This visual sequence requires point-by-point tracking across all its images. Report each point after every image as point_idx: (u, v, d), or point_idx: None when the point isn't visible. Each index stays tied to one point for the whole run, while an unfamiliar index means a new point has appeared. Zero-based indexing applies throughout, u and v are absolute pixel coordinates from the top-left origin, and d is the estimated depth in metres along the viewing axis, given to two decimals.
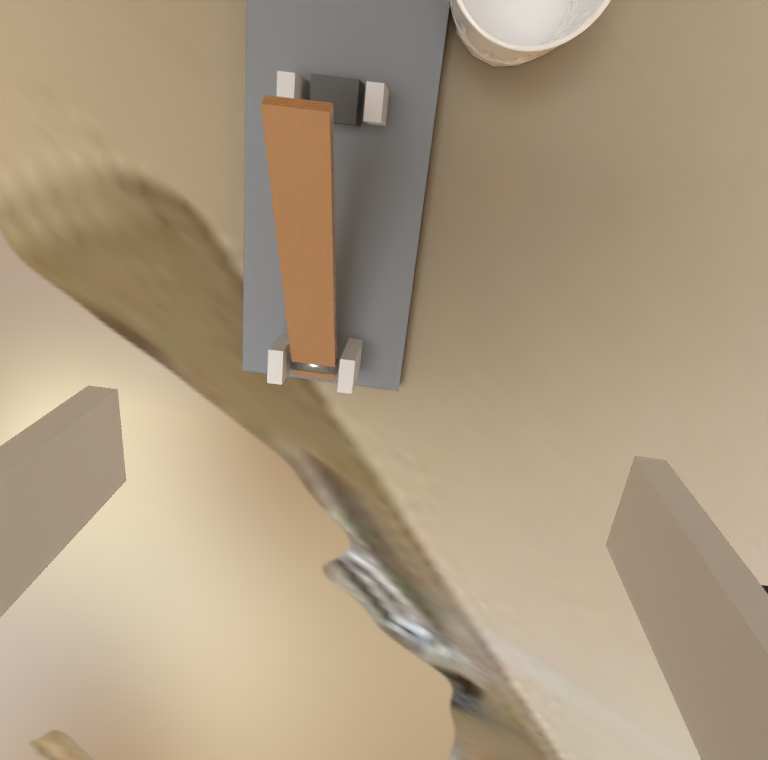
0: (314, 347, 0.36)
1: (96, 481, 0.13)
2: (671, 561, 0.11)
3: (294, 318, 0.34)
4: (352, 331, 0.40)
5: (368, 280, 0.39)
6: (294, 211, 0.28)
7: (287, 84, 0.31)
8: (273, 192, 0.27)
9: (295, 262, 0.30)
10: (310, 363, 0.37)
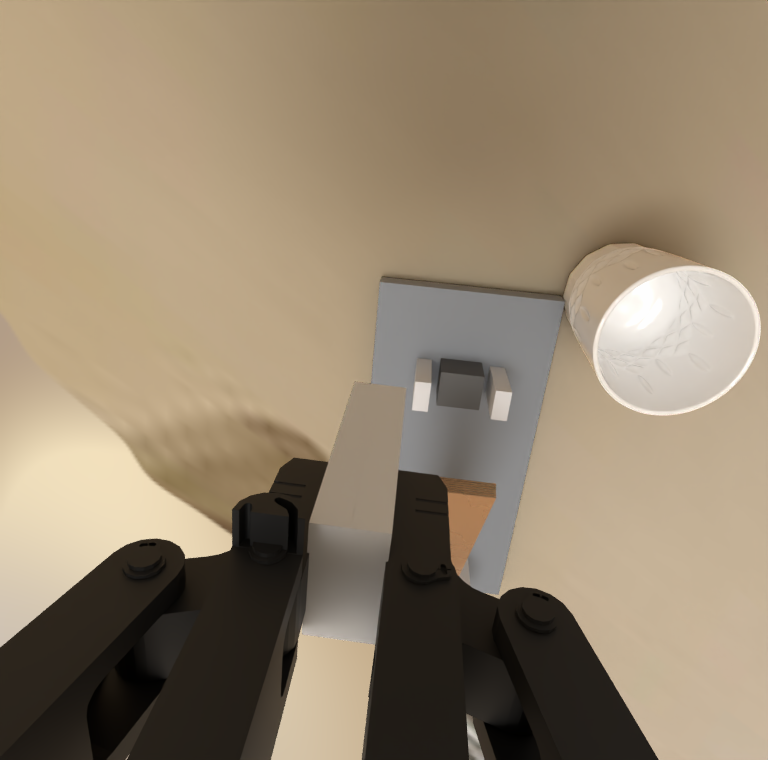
0: None
1: None
2: None
3: None
4: None
5: None
6: None
7: (423, 391, 0.34)
8: None
9: None
10: None
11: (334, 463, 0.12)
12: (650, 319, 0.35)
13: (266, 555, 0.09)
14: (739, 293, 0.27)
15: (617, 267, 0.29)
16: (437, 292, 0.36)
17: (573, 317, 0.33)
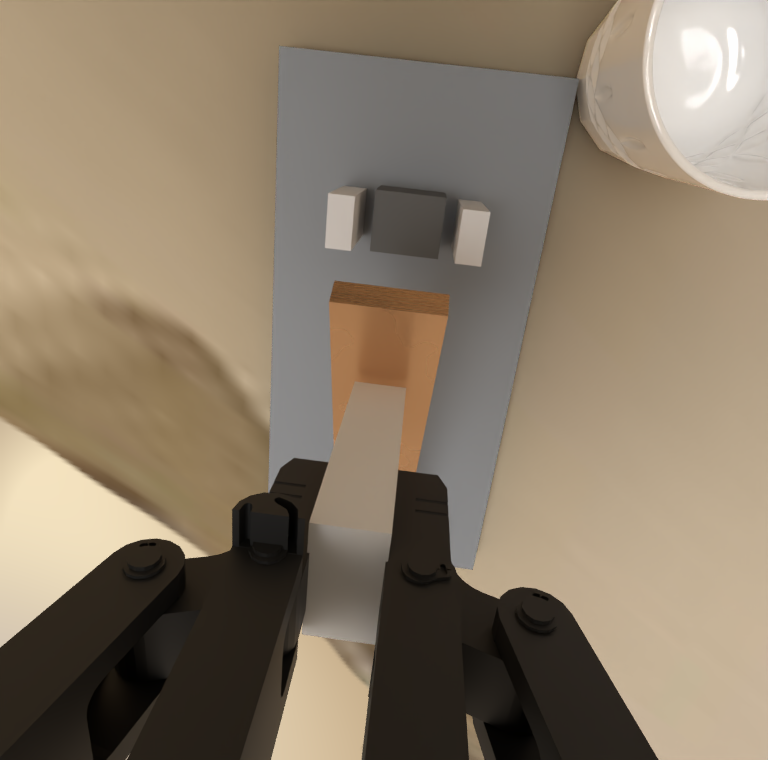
0: None
1: None
2: None
3: None
4: None
5: (439, 440, 0.29)
6: None
7: (343, 212, 0.21)
8: (335, 403, 0.17)
9: None
10: None
11: (334, 463, 0.12)
12: (718, 106, 0.21)
13: (266, 555, 0.09)
14: None
15: None
16: (372, 64, 0.22)
17: (595, 79, 0.19)
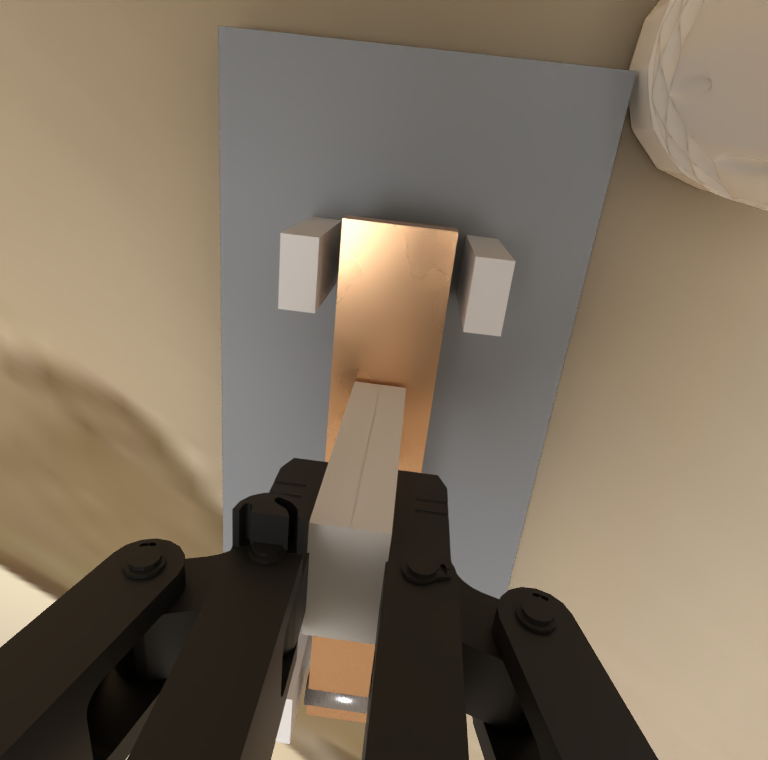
0: (355, 660, 0.20)
1: None
2: None
3: None
4: None
5: None
6: None
7: (302, 260, 0.14)
8: (335, 373, 0.16)
9: None
10: (342, 692, 0.21)
11: (334, 463, 0.12)
12: None
13: (266, 555, 0.09)
14: None
15: None
16: (348, 52, 0.16)
17: (670, 69, 0.13)
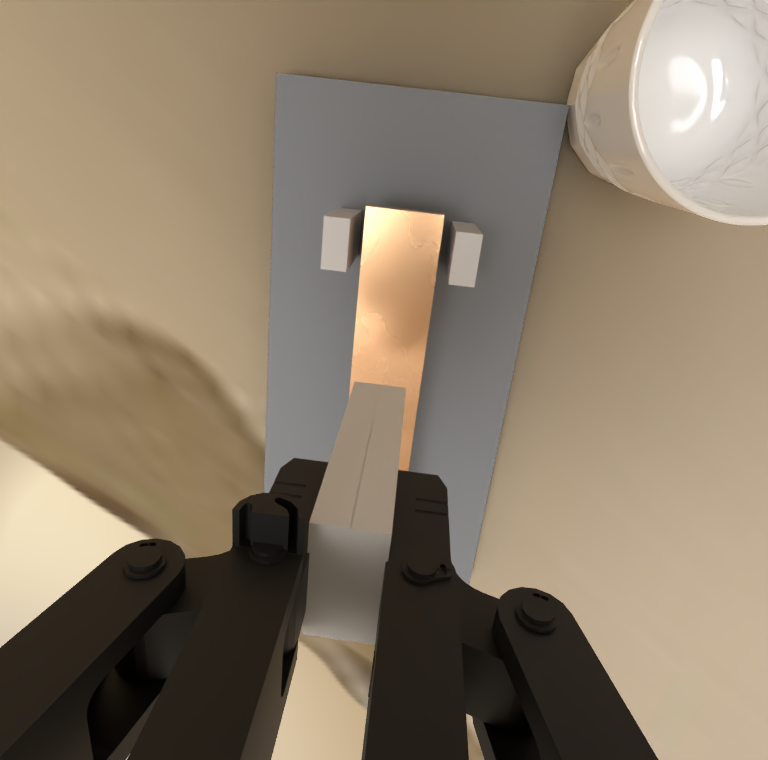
0: None
1: None
2: None
3: None
4: None
5: (434, 458, 0.29)
6: (380, 341, 0.23)
7: (338, 234, 0.21)
8: (358, 316, 0.22)
9: None
10: None
11: (334, 463, 0.12)
12: (704, 132, 0.22)
13: (266, 555, 0.09)
14: None
15: None
16: (367, 91, 0.23)
17: (584, 106, 0.20)
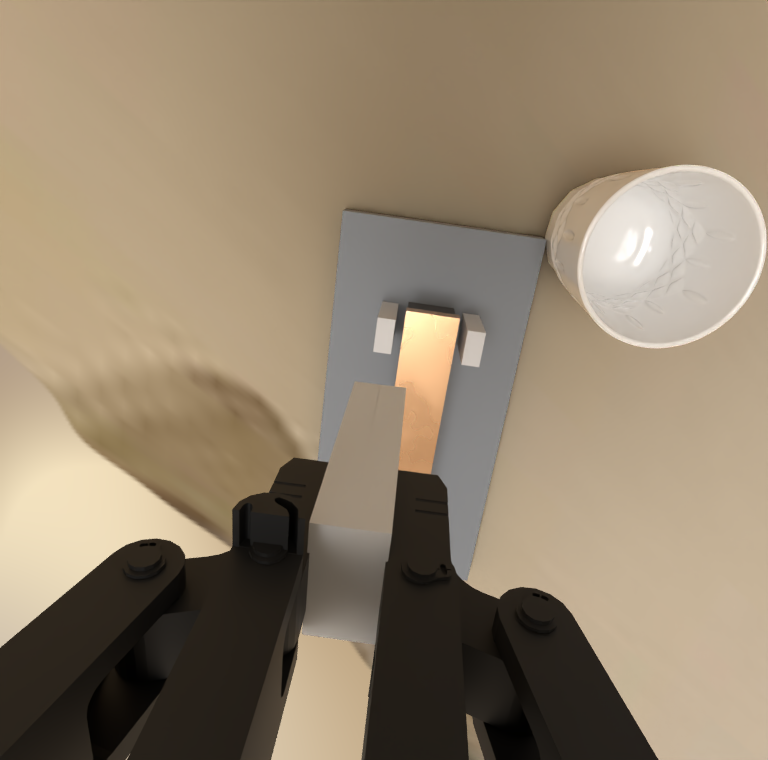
0: None
1: None
2: None
3: None
4: None
5: (444, 481, 0.38)
6: (411, 400, 0.32)
7: (387, 329, 0.30)
8: (397, 383, 0.32)
9: (400, 449, 0.34)
10: None
11: (334, 463, 0.12)
12: (639, 262, 0.32)
13: (266, 555, 0.09)
14: (743, 202, 0.23)
15: (606, 183, 0.26)
16: (406, 225, 0.32)
17: (555, 250, 0.30)
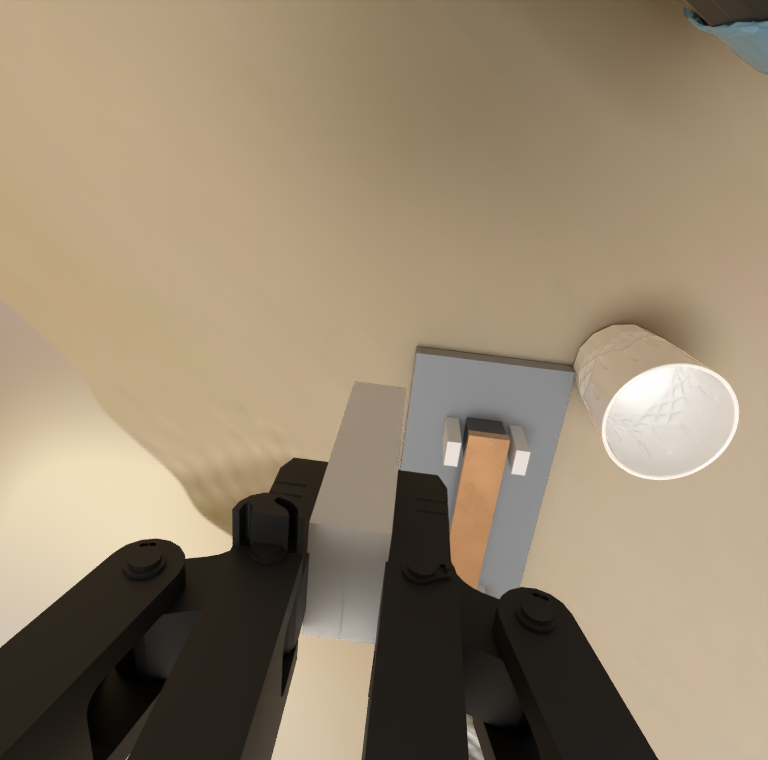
0: None
1: None
2: None
3: None
4: None
5: (493, 546, 0.48)
6: (471, 497, 0.42)
7: (454, 449, 0.40)
8: (461, 485, 0.42)
9: (462, 532, 0.43)
10: None
11: (334, 463, 0.12)
12: (648, 389, 0.41)
13: (266, 555, 0.09)
14: (721, 384, 0.32)
15: (622, 355, 0.35)
16: (465, 362, 0.42)
17: (583, 389, 0.39)
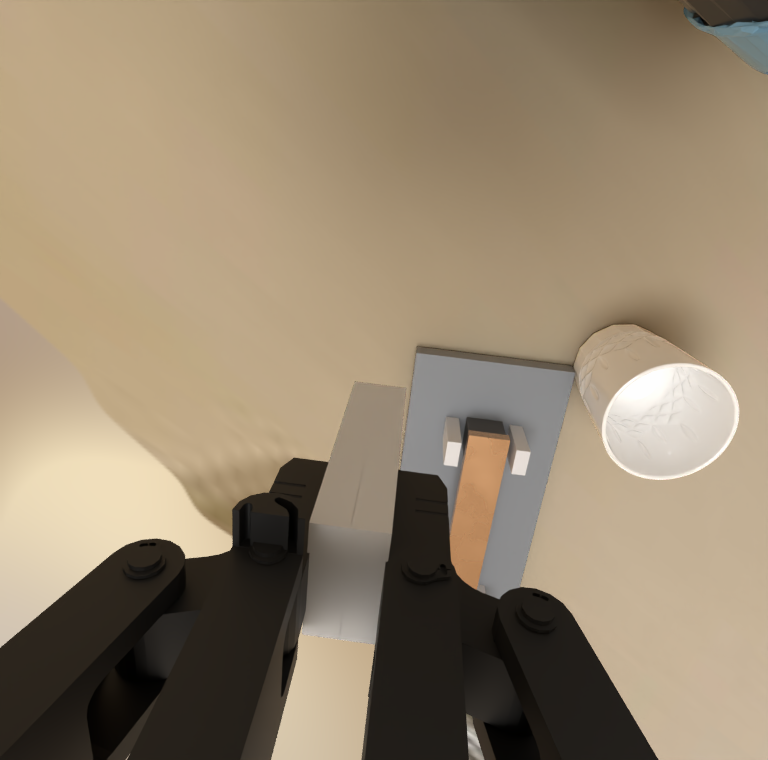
0: None
1: None
2: None
3: None
4: None
5: (493, 546, 0.48)
6: (472, 497, 0.42)
7: (454, 449, 0.40)
8: (461, 485, 0.42)
9: (462, 532, 0.43)
10: None
11: (334, 463, 0.12)
12: (648, 389, 0.41)
13: (266, 555, 0.09)
14: (722, 384, 0.32)
15: (622, 355, 0.35)
16: (466, 362, 0.42)
17: (583, 389, 0.39)
